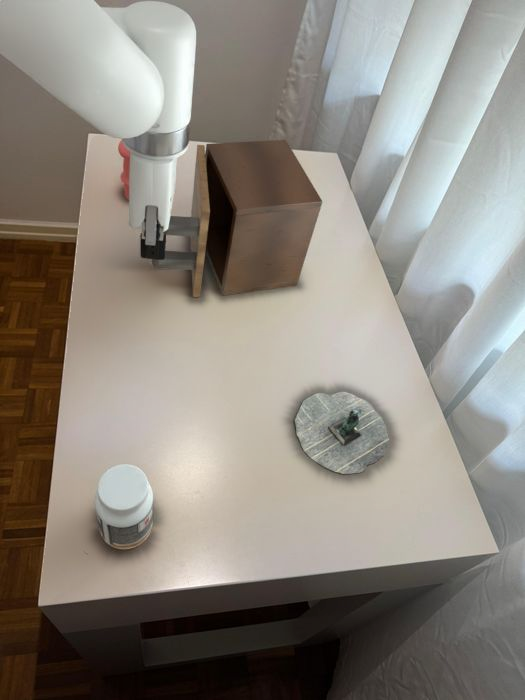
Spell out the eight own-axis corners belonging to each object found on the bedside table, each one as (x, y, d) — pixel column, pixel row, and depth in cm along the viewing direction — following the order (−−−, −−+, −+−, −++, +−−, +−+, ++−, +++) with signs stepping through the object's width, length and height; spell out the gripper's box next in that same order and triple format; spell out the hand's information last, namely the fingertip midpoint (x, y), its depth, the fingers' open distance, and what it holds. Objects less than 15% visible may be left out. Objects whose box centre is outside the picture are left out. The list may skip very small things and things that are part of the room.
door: (151, 295, 82) (153, 208, 70) (151, 229, 90) (153, 140, 78) (199, 297, 83) (210, 211, 71) (195, 231, 91) (204, 145, 79)
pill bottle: (162, 513, 63) (165, 474, 55) (134, 560, 60) (133, 526, 52) (117, 490, 64) (114, 448, 56) (87, 535, 60) (79, 498, 53)
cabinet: (222, 295, 84) (236, 209, 72) (197, 232, 92) (206, 143, 79) (297, 285, 88) (322, 201, 76) (267, 224, 96) (285, 139, 83)
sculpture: (395, 414, 77) (405, 423, 69) (365, 475, 77) (372, 491, 69) (314, 375, 78) (315, 379, 70) (285, 435, 78) (282, 446, 70)
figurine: (120, 182, 96) (117, 98, 84) (151, 185, 97) (153, 101, 85) (119, 202, 93) (116, 117, 81) (151, 204, 94) (152, 120, 82)
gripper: (128, 87, 68) (131, 210, 83) (112, 168, 59) (118, 291, 73) (192, 96, 69) (183, 215, 84) (186, 176, 60) (178, 296, 74)
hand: (153, 250), depth 78 cm, fingers closed on door, 2 cm apart
